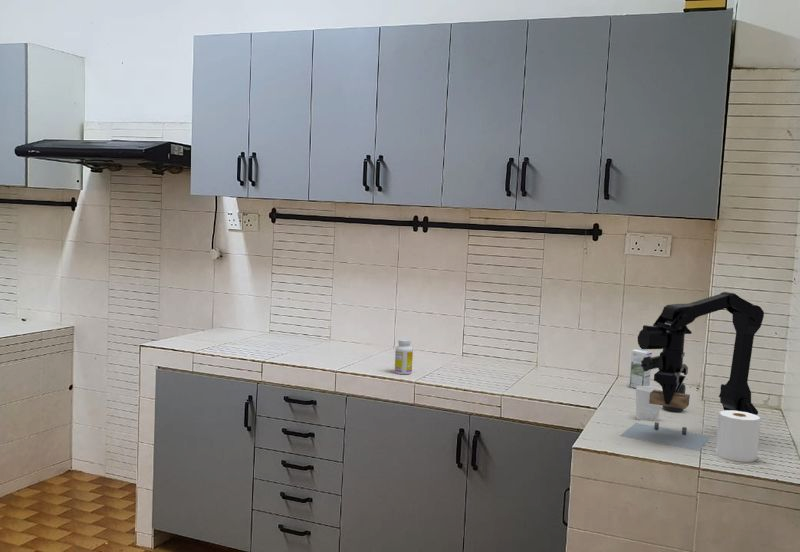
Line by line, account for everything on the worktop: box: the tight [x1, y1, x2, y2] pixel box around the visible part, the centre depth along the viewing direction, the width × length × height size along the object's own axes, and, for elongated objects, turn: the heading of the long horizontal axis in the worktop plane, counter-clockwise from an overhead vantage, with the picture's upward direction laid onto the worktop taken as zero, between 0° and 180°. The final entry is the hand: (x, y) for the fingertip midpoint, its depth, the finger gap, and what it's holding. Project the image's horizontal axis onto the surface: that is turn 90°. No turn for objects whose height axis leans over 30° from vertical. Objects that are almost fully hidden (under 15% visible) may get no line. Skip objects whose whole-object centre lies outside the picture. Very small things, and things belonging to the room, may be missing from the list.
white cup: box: [635, 385, 663, 422], centre depth 251 cm, size 8×8×10 cm
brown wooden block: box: [649, 390, 691, 410], centre depth 229 cm, size 10×6×3 cm, turn 61°
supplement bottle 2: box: [662, 374, 687, 413], centre depth 265 cm, size 7×7×12 cm
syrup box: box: [629, 348, 653, 390], centre depth 297 cm, size 6×6×14 cm
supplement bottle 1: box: [394, 338, 414, 375], centre depth 304 cm, size 7×7×13 cm
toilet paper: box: [715, 409, 761, 463], centre depth 213 cm, size 10×10×12 cm
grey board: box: [619, 421, 712, 452], centre depth 230 cm, size 22×18×3 cm
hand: (669, 402), depth 229 cm, fingers closed on brown wooden block, 6 cm apart
